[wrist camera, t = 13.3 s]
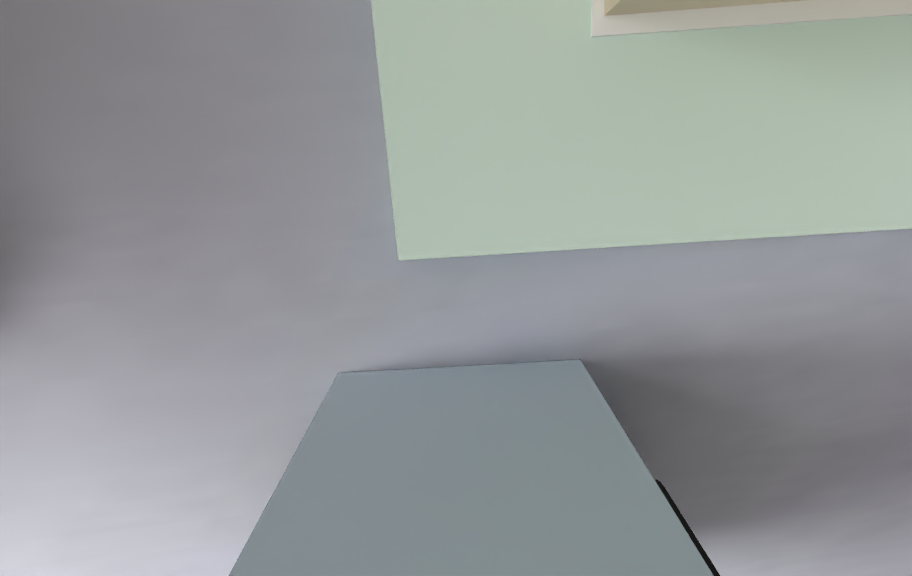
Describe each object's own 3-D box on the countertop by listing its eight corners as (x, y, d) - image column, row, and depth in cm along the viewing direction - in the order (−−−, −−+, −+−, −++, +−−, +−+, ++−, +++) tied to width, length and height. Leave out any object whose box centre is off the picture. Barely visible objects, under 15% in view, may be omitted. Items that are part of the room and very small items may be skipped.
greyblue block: (367, 557, 12) (291, 906, 7) (338, 372, 11) (198, 630, 5) (575, 547, 12) (680, 892, 6) (580, 359, 10) (732, 606, 5)
